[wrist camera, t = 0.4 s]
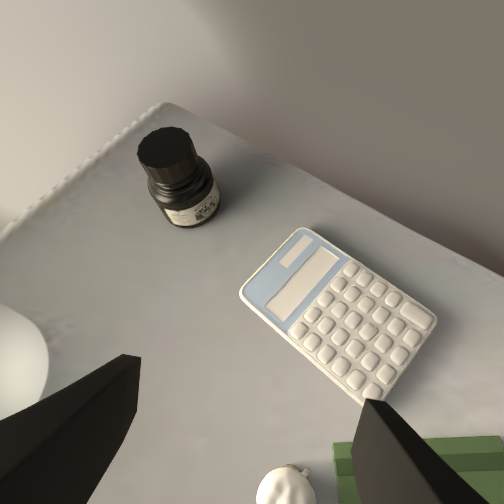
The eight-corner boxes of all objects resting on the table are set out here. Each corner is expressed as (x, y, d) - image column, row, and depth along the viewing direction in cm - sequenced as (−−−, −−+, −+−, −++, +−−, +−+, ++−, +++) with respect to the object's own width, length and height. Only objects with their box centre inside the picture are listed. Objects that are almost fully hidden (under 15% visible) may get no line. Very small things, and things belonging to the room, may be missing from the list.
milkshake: (325, 472, 32) (336, 493, 23) (293, 524, 30) (292, 569, 22) (288, 439, 34) (285, 447, 25) (256, 487, 32) (241, 513, 23)
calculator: (370, 415, 34) (374, 415, 32) (236, 297, 42) (234, 291, 40) (437, 321, 37) (444, 316, 36) (302, 228, 45) (302, 220, 43)
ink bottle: (182, 242, 46) (149, 190, 36) (151, 206, 50) (112, 150, 39) (234, 203, 48) (217, 143, 38) (200, 171, 52) (176, 108, 41)
